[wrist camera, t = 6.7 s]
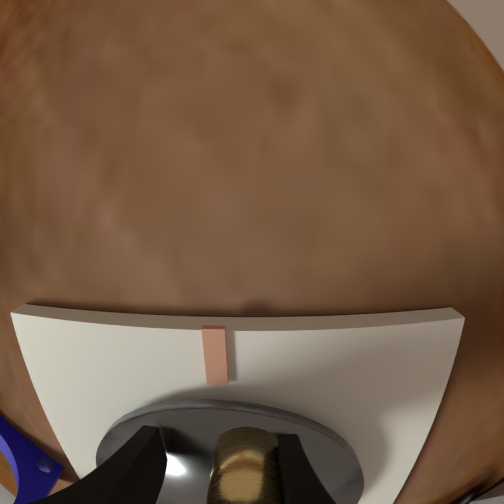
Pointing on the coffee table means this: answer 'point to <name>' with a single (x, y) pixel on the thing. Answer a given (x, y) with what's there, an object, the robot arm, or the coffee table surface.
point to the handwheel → (235, 451)
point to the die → (491, 496)
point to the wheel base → (248, 374)
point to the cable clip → (28, 465)
